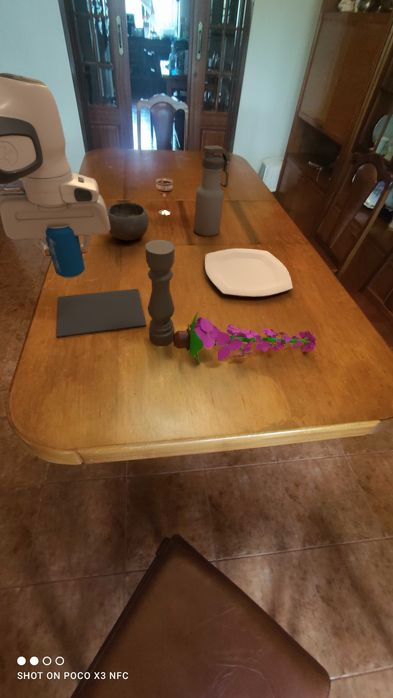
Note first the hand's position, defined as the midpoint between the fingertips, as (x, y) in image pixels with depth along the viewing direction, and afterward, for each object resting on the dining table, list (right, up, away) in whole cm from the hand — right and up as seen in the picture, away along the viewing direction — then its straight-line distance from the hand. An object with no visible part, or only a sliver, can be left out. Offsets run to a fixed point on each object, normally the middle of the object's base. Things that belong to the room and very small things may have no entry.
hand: (66, 253), depth 70 cm
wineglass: (+15, +35, +61) cm, 72 cm away
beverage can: (0, -3, +4) cm, 5 cm away
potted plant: (+40, -21, +10) cm, 46 cm away
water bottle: (+33, +24, +52) cm, 66 cm away
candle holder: (+20, -18, +10) cm, 29 cm away
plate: (+45, +3, +33) cm, 55 cm away
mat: (+3, -11, +16) cm, 19 cm away
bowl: (+4, +19, +44) cm, 49 cm away
